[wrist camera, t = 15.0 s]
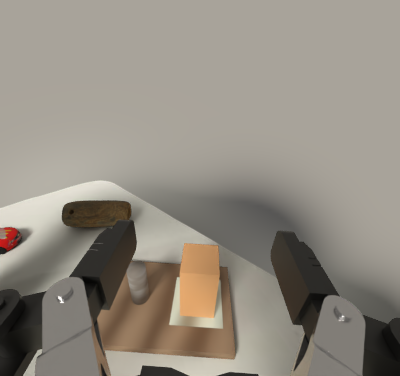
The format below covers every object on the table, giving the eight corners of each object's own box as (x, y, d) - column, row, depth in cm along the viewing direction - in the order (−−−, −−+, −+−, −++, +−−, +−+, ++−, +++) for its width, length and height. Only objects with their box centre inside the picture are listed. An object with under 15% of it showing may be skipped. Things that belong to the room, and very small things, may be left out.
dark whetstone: (63, 236, 46) (54, 213, 43) (73, 218, 52) (66, 197, 49) (130, 229, 49) (127, 207, 46) (132, 213, 55) (129, 192, 52)
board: (76, 347, 27) (58, 313, 23) (117, 265, 40) (110, 233, 35) (234, 359, 27) (243, 326, 23) (226, 272, 39) (231, 240, 35)
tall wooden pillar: (180, 315, 30) (179, 272, 25) (183, 284, 35) (184, 243, 30) (213, 318, 30) (219, 275, 25) (213, 286, 35) (218, 245, 30)
